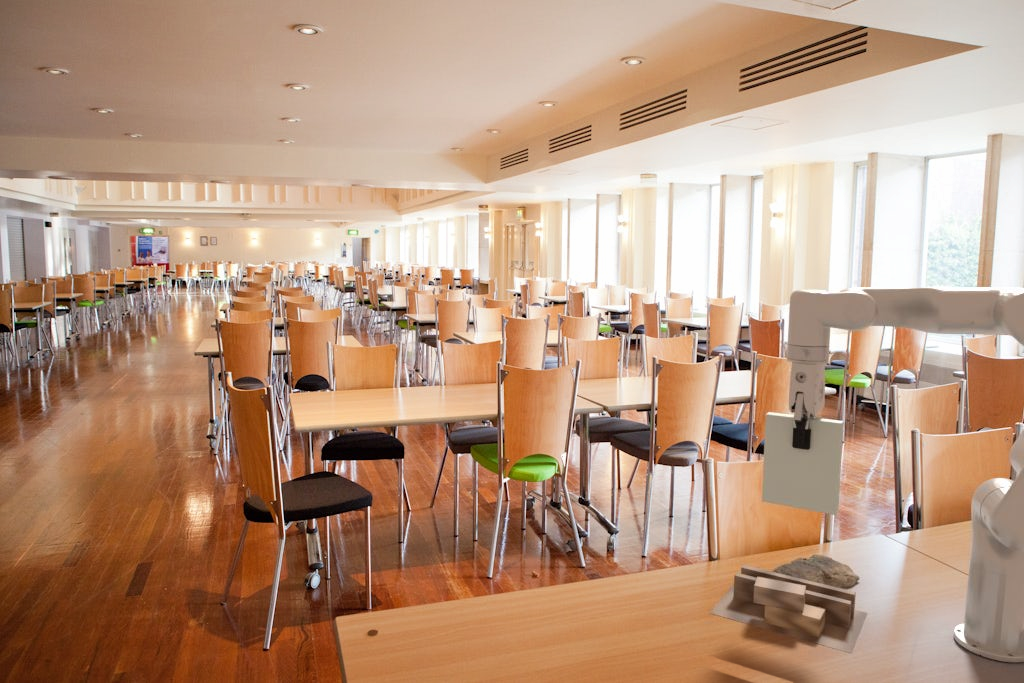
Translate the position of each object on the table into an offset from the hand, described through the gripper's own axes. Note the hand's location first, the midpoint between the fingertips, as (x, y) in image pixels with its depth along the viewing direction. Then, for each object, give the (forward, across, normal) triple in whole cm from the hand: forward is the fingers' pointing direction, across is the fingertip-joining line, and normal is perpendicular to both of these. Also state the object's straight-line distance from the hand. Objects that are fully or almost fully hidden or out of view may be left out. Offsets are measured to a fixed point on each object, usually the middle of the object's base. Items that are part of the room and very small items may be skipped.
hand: (803, 446), depth 147 cm
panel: (+12, 0, 0) cm, 12 cm away
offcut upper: (+30, -7, +1) cm, 31 cm away
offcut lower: (+33, -7, -2) cm, 34 cm away
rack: (+35, -3, 0) cm, 35 cm away
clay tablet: (+35, +17, +1) cm, 39 cm away
